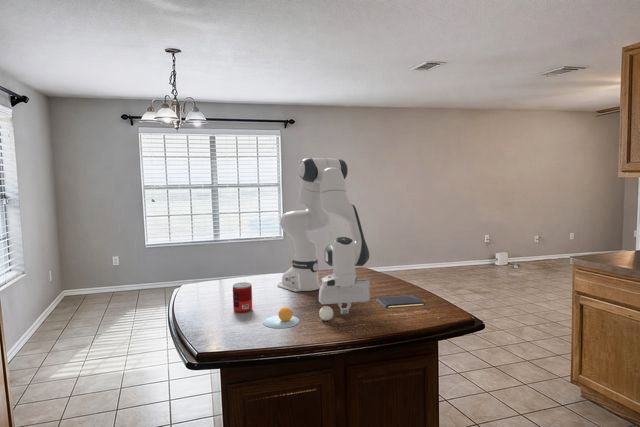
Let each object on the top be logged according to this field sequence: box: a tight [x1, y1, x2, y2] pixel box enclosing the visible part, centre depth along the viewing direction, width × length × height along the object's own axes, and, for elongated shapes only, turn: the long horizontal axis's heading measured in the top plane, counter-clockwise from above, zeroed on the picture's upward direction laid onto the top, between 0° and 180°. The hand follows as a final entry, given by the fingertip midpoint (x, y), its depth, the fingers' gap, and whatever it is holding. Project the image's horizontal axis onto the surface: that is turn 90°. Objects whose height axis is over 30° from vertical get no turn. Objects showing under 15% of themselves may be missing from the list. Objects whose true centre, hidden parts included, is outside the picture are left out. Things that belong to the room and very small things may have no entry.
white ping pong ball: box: [318, 305, 334, 321], centre depth 164 cm, size 6×6×6 cm
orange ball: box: [277, 306, 294, 321], centre depth 164 cm, size 6×6×6 cm
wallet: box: [375, 294, 429, 310], centre depth 186 cm, size 20×2×15 cm
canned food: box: [232, 281, 253, 314], centre depth 178 cm, size 8×8×11 cm
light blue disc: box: [262, 315, 300, 329], centre depth 163 cm, size 14×14×1 cm
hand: (344, 313), depth 167 cm, fingers closed
